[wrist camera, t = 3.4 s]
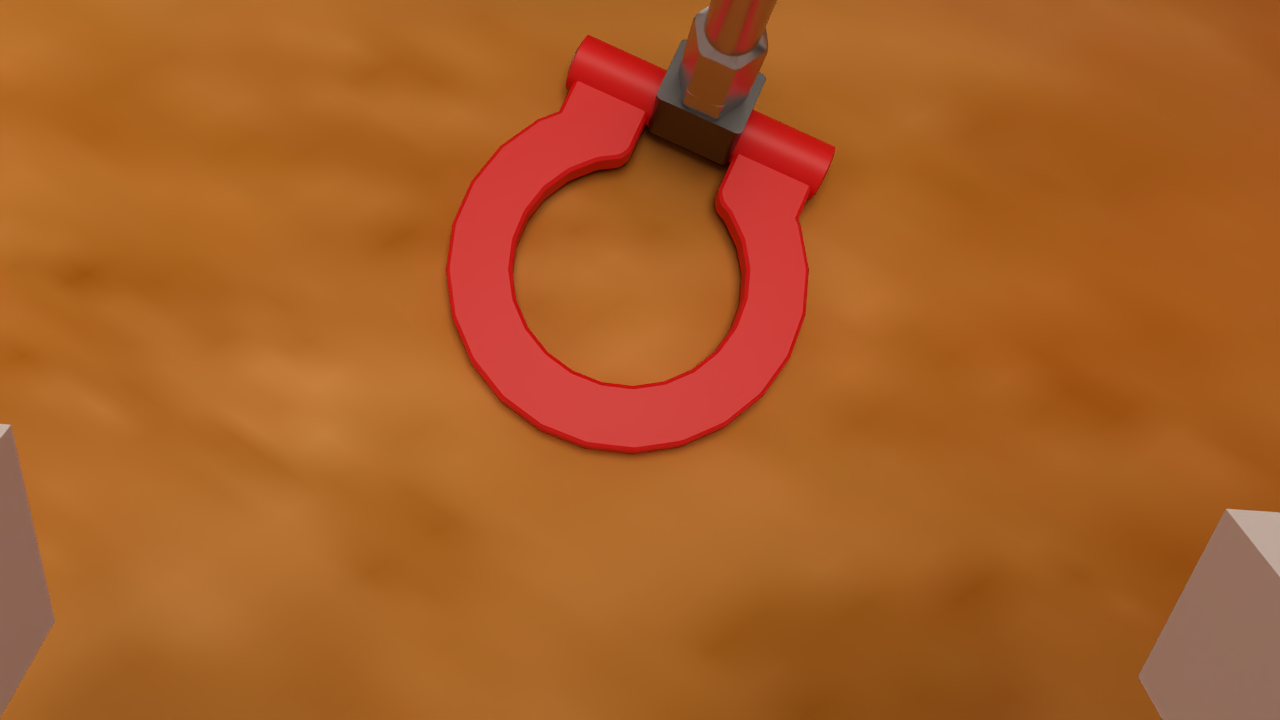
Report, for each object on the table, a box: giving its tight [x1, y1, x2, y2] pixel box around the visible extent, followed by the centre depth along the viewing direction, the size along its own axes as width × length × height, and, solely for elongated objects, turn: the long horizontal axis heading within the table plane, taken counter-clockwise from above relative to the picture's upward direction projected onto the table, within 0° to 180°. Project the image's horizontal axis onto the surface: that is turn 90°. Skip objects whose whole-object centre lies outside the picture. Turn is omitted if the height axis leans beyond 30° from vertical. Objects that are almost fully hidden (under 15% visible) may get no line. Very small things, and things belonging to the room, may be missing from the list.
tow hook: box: [446, 0, 835, 454], centre depth 20 cm, size 8×13×9 cm
